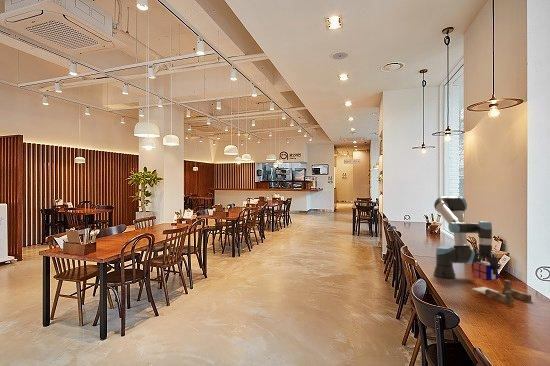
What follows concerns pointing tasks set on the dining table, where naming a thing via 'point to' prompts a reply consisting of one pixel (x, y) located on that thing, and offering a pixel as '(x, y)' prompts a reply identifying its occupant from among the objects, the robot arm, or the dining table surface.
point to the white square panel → (483, 289)
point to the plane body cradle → (508, 294)
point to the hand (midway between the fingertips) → (485, 276)
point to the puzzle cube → (483, 270)
